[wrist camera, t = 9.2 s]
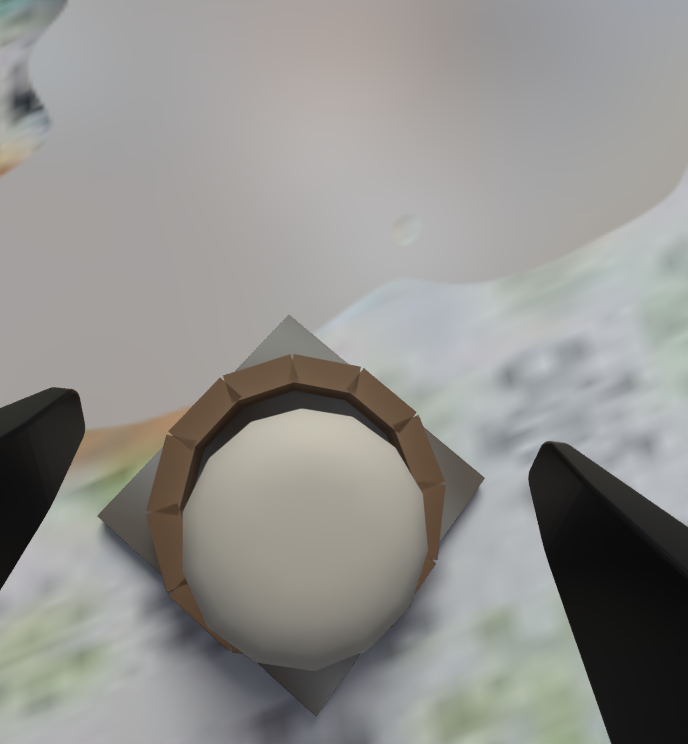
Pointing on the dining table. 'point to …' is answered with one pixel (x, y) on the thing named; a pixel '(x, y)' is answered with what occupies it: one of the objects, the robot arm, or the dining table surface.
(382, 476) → the salt shaker
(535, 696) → the dining table surface
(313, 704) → the stand
